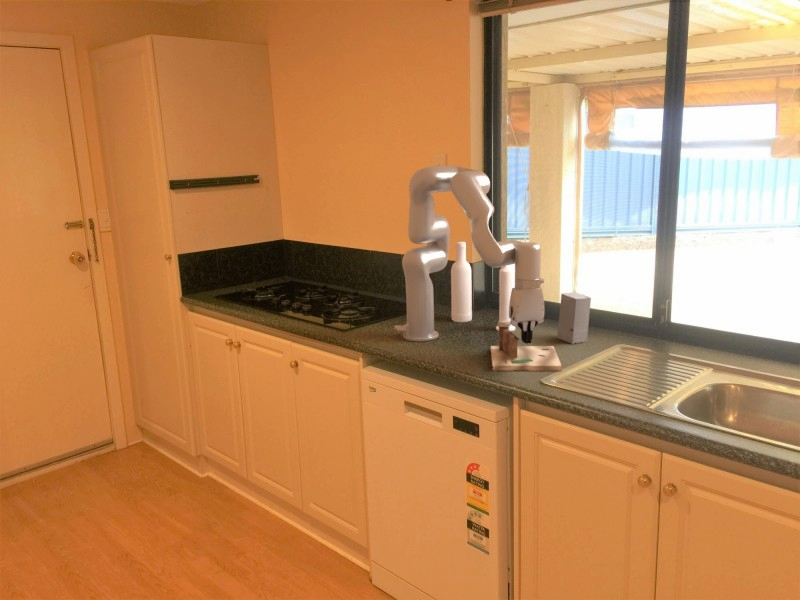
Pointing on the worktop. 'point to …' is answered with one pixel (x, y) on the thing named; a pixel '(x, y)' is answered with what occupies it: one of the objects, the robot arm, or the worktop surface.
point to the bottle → (461, 286)
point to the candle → (505, 295)
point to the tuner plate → (527, 359)
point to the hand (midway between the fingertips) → (526, 342)
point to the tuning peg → (507, 339)
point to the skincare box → (574, 317)
